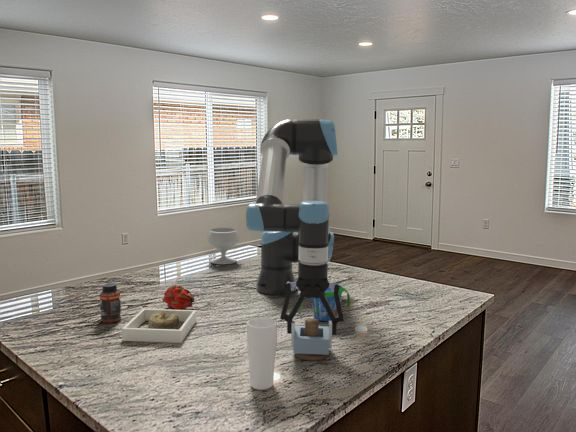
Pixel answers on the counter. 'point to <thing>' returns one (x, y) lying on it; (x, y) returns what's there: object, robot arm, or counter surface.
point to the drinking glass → (261, 351)
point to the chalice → (223, 243)
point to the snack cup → (319, 308)
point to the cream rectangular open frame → (158, 335)
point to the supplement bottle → (110, 303)
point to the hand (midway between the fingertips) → (311, 345)
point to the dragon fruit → (178, 298)
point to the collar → (311, 341)
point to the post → (311, 331)
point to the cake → (163, 321)
